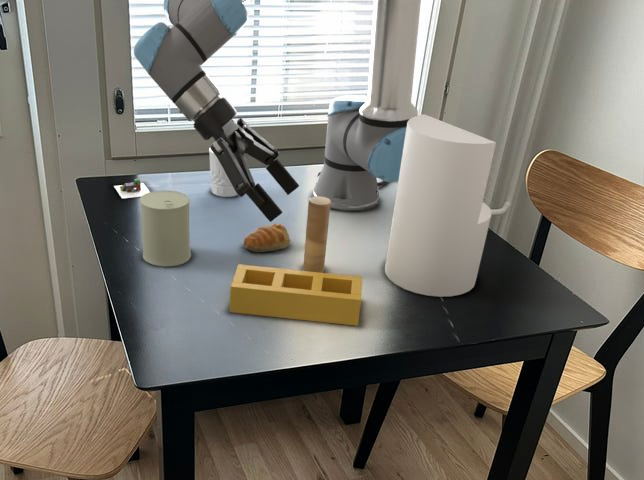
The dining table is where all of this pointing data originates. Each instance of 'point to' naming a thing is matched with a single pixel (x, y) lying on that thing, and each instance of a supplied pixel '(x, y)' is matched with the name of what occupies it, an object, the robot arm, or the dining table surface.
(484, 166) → the cylinder
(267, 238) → the pastry
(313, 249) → the peg
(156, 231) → the can
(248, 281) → the yellow peg holder
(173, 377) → the dining table surface
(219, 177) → the white cup
